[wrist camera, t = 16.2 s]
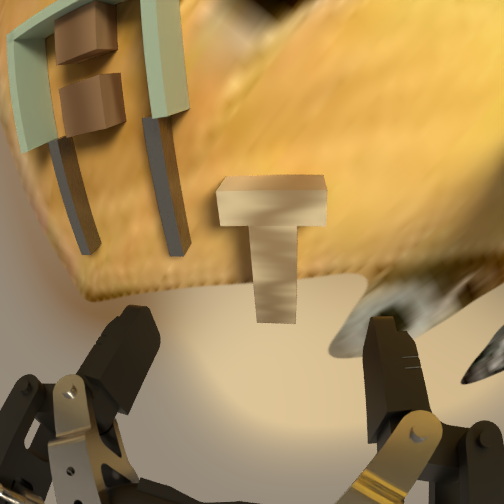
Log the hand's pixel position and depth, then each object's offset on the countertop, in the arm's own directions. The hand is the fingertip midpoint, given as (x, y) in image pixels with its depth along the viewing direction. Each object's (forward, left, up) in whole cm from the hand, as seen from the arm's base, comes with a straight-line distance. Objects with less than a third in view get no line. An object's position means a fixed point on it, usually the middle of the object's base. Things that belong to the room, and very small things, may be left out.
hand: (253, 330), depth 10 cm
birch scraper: (0, -1, -12) cm, 12 cm away
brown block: (+13, -14, -14) cm, 24 cm away
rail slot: (+13, -1, -14) cm, 19 cm away
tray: (+13, -12, -14) cm, 22 cm away
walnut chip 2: (+13, -8, -14) cm, 21 cm away
